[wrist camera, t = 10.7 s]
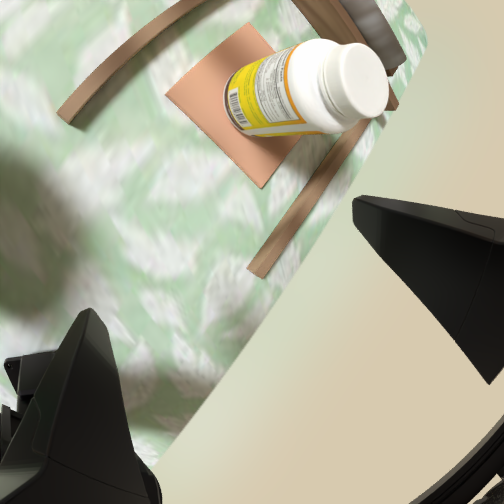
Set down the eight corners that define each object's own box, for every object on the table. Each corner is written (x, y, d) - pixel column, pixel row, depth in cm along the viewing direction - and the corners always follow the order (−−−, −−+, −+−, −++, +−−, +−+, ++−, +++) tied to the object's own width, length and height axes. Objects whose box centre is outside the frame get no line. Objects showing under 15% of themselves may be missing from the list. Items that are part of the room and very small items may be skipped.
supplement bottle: (293, 94, 21) (405, 80, 13) (264, 151, 22) (381, 156, 13) (241, 53, 18) (350, 8, 10) (205, 111, 18) (312, 82, 10)
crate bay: (254, 274, 25) (296, 300, 20) (57, 115, 13) (49, 97, 9) (384, 86, 28) (424, 84, 23) (286, -52, 16) (325, -73, 12)
